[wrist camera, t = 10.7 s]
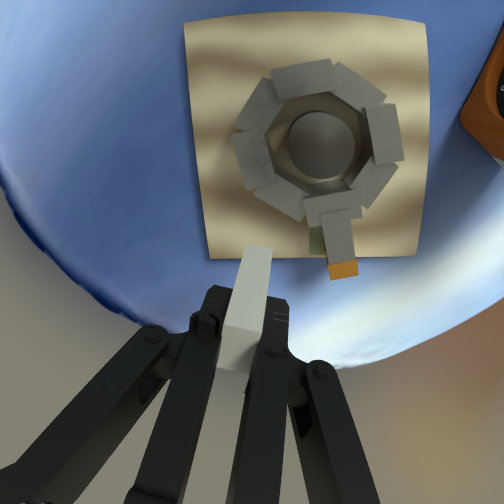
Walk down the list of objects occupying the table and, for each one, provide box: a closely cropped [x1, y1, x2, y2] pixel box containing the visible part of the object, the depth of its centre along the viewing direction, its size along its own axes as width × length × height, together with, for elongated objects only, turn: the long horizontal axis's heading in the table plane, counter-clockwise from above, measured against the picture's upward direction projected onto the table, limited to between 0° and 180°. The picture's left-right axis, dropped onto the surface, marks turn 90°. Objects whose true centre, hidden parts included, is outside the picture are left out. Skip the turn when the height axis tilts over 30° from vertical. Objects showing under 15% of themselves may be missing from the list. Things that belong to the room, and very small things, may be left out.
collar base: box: [184, 11, 430, 259], centre depth 25 cm, size 24×22×6 cm
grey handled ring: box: [230, 58, 405, 280], centre depth 25 cm, size 18×13×4 cm
